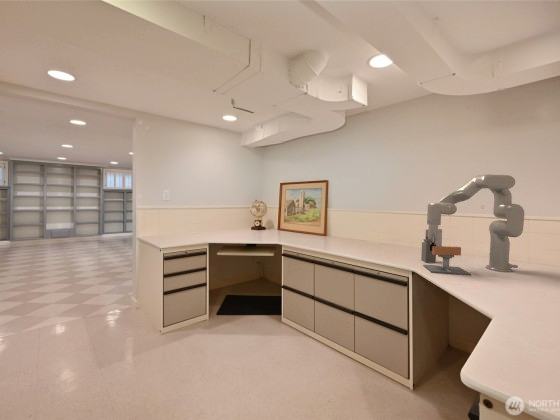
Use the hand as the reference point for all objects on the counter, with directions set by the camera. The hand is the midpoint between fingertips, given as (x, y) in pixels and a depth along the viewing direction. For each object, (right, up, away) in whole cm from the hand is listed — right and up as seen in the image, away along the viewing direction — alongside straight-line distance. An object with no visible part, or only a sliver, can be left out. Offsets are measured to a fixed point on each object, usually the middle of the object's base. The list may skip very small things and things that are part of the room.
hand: (432, 250), depth 165 cm
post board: (+6, -12, -3) cm, 14 cm away
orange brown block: (+6, -4, -4) cm, 8 cm away
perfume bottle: (+8, -11, +19) cm, 24 cm away
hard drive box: (+30, -10, +49) cm, 58 cm away
